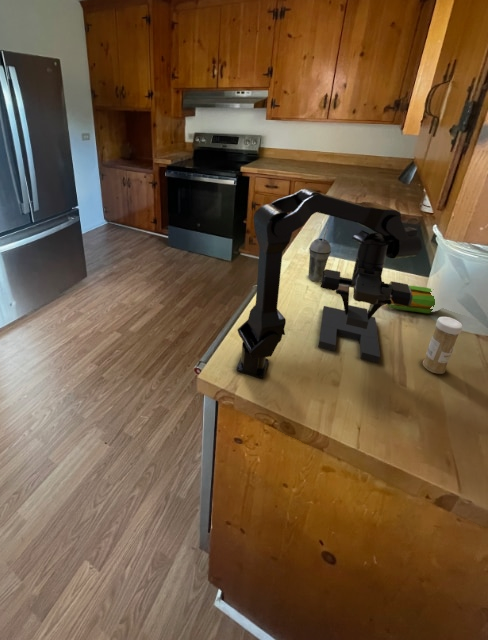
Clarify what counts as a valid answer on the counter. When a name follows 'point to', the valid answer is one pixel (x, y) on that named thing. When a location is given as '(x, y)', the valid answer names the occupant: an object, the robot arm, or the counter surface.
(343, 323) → the dark u-shaped block
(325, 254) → the beverage cup
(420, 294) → the corn
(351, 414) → the counter surface
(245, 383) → the counter surface
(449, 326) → the tan spice jar
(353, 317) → the small pad
